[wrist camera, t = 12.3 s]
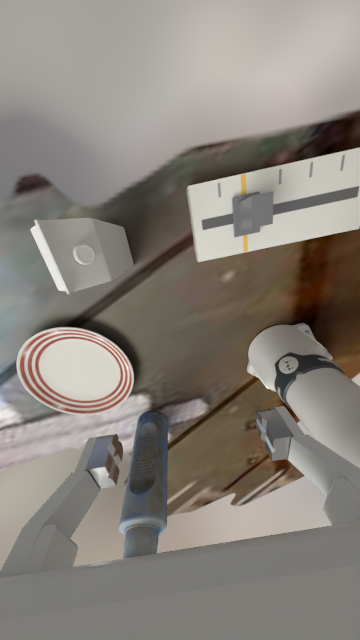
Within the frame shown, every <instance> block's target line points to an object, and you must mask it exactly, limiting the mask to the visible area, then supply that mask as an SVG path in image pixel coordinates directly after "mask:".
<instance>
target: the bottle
mask: <svg viewBox="0 0 360 640" xmlns="http://www.w3.org/2000/svg"><path fill="white" fill-rule="evenodd" d="M167 460H168V420H167V418H166V417H165V416H164V415H163V414H161V413H158V412H148V413H145V414H143V415H142V416H141V417H140V418H139V419H138V423H137V429H136V434H135V440H134V446H133V451H132V457H131V462H130V468H129V474H128V479H127V485H126V491H125V496H124V502H123V507H122V514H121V518H120V523H119V530H120V532H121V533H122V534H124V535H125V543H124V555H123V559H124V558H131V557H137V556H143V555H150V554H156V552H157V545H158V536H159V534H161V533H163V532H164V530H165V529H166V526H167Z"/></svg>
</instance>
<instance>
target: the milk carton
mask: <svg viewBox="0 0 360 640" xmlns="http://www.w3.org/2000/svg"><path fill="white" fill-rule="evenodd" d="M34 221H35V223H36V225H35V226H34V227H33V228H31V229H30V230H31V232H32V234H33V237H34V239H35V241H36V243H37V245H38V247H39V249H40V252H41V254H42V256H43V258H44V260H45V262H46V264H47V267H48V269H49V271H50V273H51V275H52V277H53V279H54V281H55V284H56V286H57V288H58V290H60V291H66V292H67V294H71V293H73V292H75V291H78V290H82V289H85V288H89V287H92V286H96V285H99V284H103V283H106V282H110V281H112V280H113V279H115V278H116V277H118V276H119V275H121V274H122V273H124V272H125V271H127V270H128V269H130V268H131V267H132V266H134V263H133V259H132V256H131V252H130V248H129V244H128V241H127V237H126V233H125V229H124V227H122V226H118V225H114V224H111V223H107V222H104V221H100V220H97V219H93V218H77V219H61V220H45V221H43V220H34Z"/></svg>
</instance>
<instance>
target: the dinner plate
mask: <svg viewBox="0 0 360 640" xmlns="http://www.w3.org/2000/svg"><path fill="white" fill-rule="evenodd" d="M17 372H18V375H19V378H20V380H21V382H22V384H23V386H24V387H25V388H26V390H27V391H28V392H29V393H30V394H31V395H32V396H33V397H34V398H36V399H37V400H38V401H40V402H41V403H43V404H45V405H46V406H48V407H50V408H53V409H55V410H58V411H61V412H64V413H68V414H74V415H96V414H101V413H105V412H107V411H110V410H112V409H114V408H116V407H118V406H119V405H120V404H122V403H123V402H124V401H125V400H126V399H127V397H128V396H129V394H130V393H131V391H132V388H133V385H134V372H133V368H132V365H131V363H130V361H129V359H128V357H127V356H126V354H125V353H124V352H123V351H122V350H121V349H120V348H119V347H118V346H117V345H116V344H115V343H114V342H112V341H111V340H109V339H108V338H106V337H104V336H103V335H101V334H98V333H96V332H93V331H90V330H87V329H82V328H76V327H57V328H51V329H47V330H44V331H41V332H39V333H37V334H35V335H33V336H32V337H31V338H29V339H28V340H27V341H26V342H25V343H24V344H23V346H22V347H21V349H20V351H19V353H18V357H17Z"/></svg>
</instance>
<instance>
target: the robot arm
mask: <svg viewBox="0 0 360 640" xmlns="http://www.w3.org/2000/svg"><path fill="white" fill-rule="evenodd" d="M248 357H249V363H248V366H247V371H248V372H249V373H250V374H252V375H254V376H256V377H258V378H260V380H261V381H262V383H263V384H264V385H265V387H266V388H267V389H271V390H273V391H276V392H277V393H278V394H279V396H280V398H281V399H282V401H283V402H285V404H286V405H287V406H288V407H289V408H291V409H292V410H293V411H294V413H295V414H296V415H297V417H298V418H299V420H300V421H301V422H302V424H303V425H304V426H305V428H306V429H307V431H308V432H309V433H310V435H311V436H312V437H311V436H309V435H305V434H304V433H303V432H302V430H301V429H300V428H299V426H298V425H297V423H296V422H295V420H294V419H293V418H292V416H291V415H290V413H289V412H288V411H287V409H286V408H285V407H283V406H282V407H276V408H269V409H264V410H258V411H257V412H256V416H257V418H258V419H257V420H256V426H257V430H258V433H259V435H260V437H261V439H262V440H263V441H265V448H266V450H267V452H268V454H269V456H270V459H271V461H274V460H282V459H288V460H289V461H290V462H291V463H292V464H293V465H294V466H295V467H296V468H297V469H299V470H300V471H301V472H302V473H303V474H304V475H305V476H306V477H307V478H308V479H310V480H311V481H312V482H313V483H314V484H315V485H316V486H317V487H318V488H320V490H321V491H323V492H324V493H325V494H326V495H327V499H326V502H325V504H324V508H323V510H324V512H325V514H326V515H327V517H328V519H329V521H330V522H331V524H332V526H327V527H321V528H314V529H308V530H302V531H295V532H289V533H283V534H276V535H270V536H264V537H257V538H252V539H245V540H239V541H233V542H226V543H219V544H213V545H207V546H200V547H194V548H188V549H182V550H175V551H169V552H163V553H156V554H150V555H143V556H137V557H131V558H124V559H118V560H112V561H105V562H100V563H93V564H86V565H80V566H74V567H73V564H74V561H75V557H76V554H77V550H78V547H77V545H76V544H75V543H74V542H73V541H72V540H71V539H70V538H71V536H72V535H73V533H74V531H75V530H76V528H77V527H78V525H79V524H80V522H81V520H82V519H83V517H84V516H85V514H86V512H87V511H88V509H89V508H90V506H91V504H92V503H93V501H94V500H95V498H96V496H97V495H98V493H99V492H100V489H103V488H108V487H113V486H116V484H117V479H118V475H119V469H118V465H119V464H120V463H121V461H122V455H123V447H122V444H121V442H119V441H118V438H119V437H118V436H117V434H114V435H107V436H101V437H94V438H89V440H88V441H87V443H86V445H85V448H84V450H83V452H82V455H81V457H80V460H79V463H78V465H77V467H76V469H75V472H74V473H71V474H70V475H69V476H68V478H67V479H66V480H65V481H64V482H63V483H62V485H61V486H60V487H59V488H58V489H57V490H56V491H55V492H54V493H53V494H52V496H51V497H50V498H49V499H48V500H47V501H46V502H45V503H44V505H43V506H42V507H41V508H40V509H39V510H38V511H37V512H36V514H35V515H34V516H33V517H32V518H31V519H30V520H29V521H28V523H27V524H26V525H25V526H24V527H23V528H22V530H21V533H20V534H19V536H18V538H17V540H16V542H15V544H14V546H13V548H12V550H11V552H10V554H9V556H8V558H7V560H6V562H5V563H4V565H3V567H2V570H1V571H0V640H360V386H358V385H357V384H356V383H354V382H353V381H352V380H351V379H349V378H348V377H347V376H345V373H344V372H343V371H342V370H341V369H340V368H339V367H338V366H337V365H336V364H335V363H334V362H332V361H330V360H332V359H333V358H332V356H331V355H330V354H329V353H328V352H327V350H326V348H324V347H323V346H322V345H321V344H320V343H319V342H317V341H316V340H315V338H314V336H313V334H312V332H311V330H310V328H309V326H308V325H307V324H305V323H300V324H296V325H276V326H272V327H270V328H268V329H266V330H264V331H262V332H261V333H260V334H258V335H257V336H256V337H255V339H254V340H253V341H252V343H251V345H250V347H249V352H248Z"/></svg>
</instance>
